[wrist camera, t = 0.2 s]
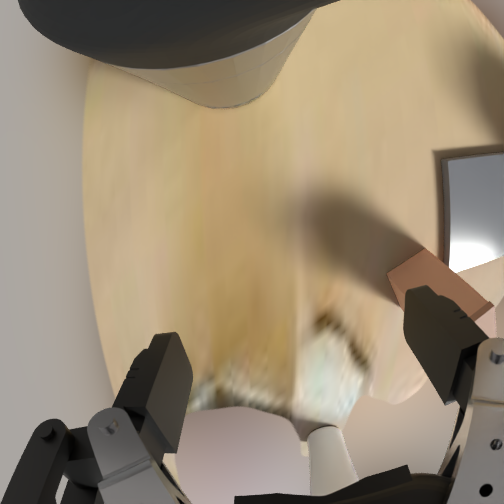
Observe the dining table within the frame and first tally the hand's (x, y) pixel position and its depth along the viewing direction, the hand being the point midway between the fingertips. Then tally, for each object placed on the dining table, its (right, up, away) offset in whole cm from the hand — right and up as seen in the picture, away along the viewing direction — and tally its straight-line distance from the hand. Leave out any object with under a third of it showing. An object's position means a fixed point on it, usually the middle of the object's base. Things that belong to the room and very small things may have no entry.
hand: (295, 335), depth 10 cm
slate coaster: (+24, +8, +16) cm, 30 cm away
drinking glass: (+9, -24, +29) cm, 39 cm away
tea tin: (+15, 0, +19) cm, 25 cm away
